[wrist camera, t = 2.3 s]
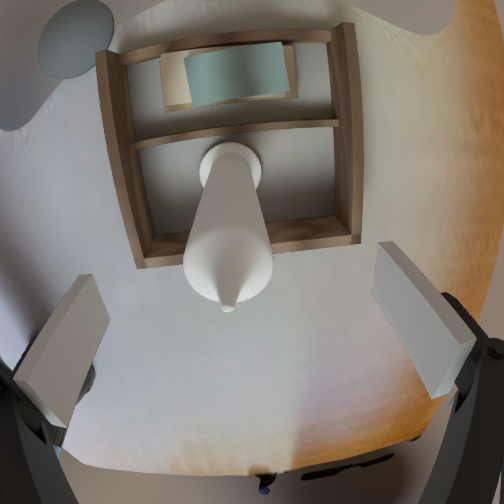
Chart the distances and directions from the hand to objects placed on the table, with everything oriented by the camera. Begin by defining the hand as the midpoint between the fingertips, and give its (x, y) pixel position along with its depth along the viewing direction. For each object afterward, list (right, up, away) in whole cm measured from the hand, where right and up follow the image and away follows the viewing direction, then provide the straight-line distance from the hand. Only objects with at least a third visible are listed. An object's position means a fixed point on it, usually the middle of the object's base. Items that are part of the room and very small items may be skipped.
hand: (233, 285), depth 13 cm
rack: (-1, +14, +19) cm, 24 cm away
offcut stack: (-2, +20, +16) cm, 26 cm away
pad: (-21, +27, +11) cm, 36 cm away
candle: (-2, +11, +21) cm, 24 cm away
